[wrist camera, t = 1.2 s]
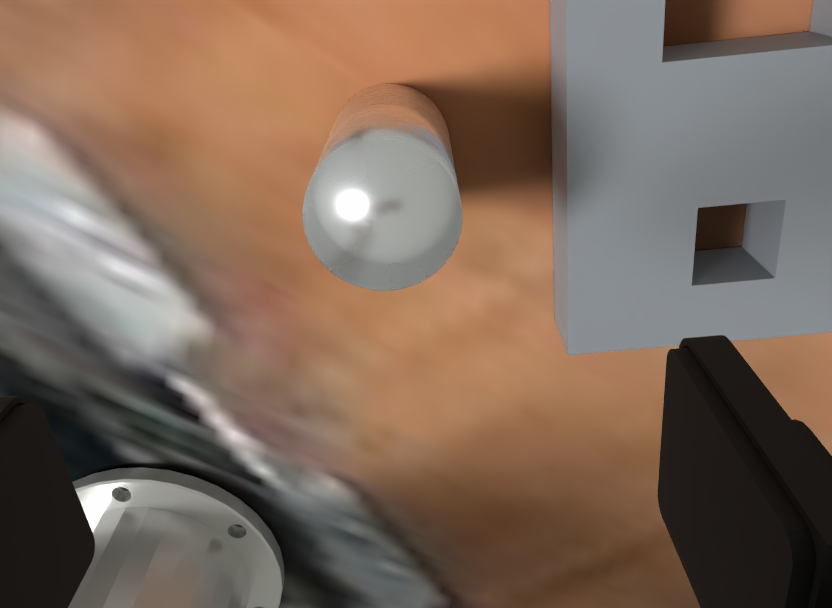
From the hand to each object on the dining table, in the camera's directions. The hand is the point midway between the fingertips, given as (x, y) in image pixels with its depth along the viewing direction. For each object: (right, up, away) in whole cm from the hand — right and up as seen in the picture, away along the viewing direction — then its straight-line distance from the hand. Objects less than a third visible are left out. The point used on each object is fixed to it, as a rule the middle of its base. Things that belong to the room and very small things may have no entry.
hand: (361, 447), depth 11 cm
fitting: (0, +8, +16) cm, 18 cm away
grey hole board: (+12, +10, +15) cm, 22 cm away
